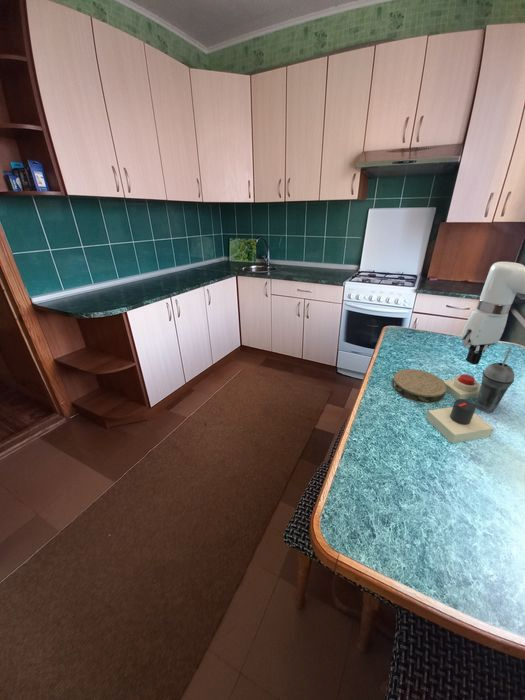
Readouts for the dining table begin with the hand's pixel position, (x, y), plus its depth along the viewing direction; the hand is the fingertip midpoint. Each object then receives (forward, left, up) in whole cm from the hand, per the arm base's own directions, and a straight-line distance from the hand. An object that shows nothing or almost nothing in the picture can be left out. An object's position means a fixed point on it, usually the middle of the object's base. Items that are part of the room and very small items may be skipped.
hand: (471, 362), depth 92 cm
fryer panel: (+15, +15, -11) cm, 24 cm away
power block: (0, 0, -11) cm, 11 cm away
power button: (0, 0, -7) cm, 7 cm away
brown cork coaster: (+13, -4, -11) cm, 18 cm away
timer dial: (+15, +15, -8) cm, 22 cm away
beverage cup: (0, +9, -11) cm, 15 cm away
